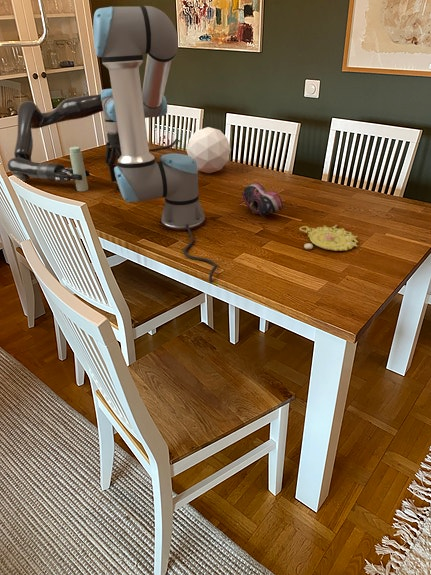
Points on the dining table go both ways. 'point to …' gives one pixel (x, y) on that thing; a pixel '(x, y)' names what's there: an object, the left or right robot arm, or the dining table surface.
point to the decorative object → (330, 238)
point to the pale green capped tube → (78, 168)
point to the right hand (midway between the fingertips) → (123, 184)
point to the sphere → (209, 149)
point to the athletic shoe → (261, 200)
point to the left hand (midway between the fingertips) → (85, 175)
